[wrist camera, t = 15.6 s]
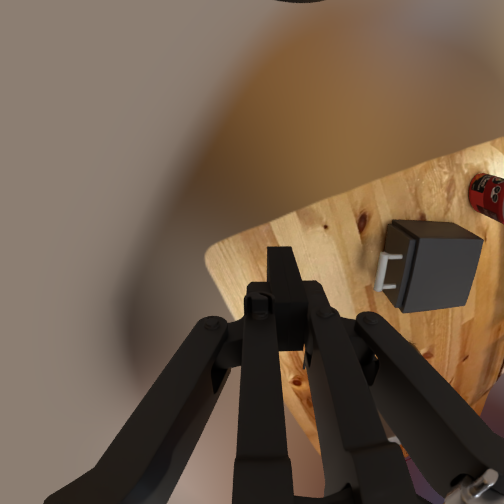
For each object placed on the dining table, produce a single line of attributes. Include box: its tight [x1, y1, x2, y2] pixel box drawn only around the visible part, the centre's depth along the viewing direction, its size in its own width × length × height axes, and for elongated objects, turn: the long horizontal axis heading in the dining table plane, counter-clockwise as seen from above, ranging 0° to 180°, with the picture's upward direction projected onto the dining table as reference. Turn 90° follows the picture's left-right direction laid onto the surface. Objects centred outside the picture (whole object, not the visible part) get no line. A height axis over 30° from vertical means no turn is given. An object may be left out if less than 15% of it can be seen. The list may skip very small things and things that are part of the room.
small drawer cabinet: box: [392, 220, 484, 313], centre depth 41 cm, size 15×13×10 cm
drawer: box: [374, 224, 417, 308], centre depth 41 cm, size 17×11×8 cm, turn 91°
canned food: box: [469, 173, 504, 224], centre depth 36 cm, size 8×8×11 cm
